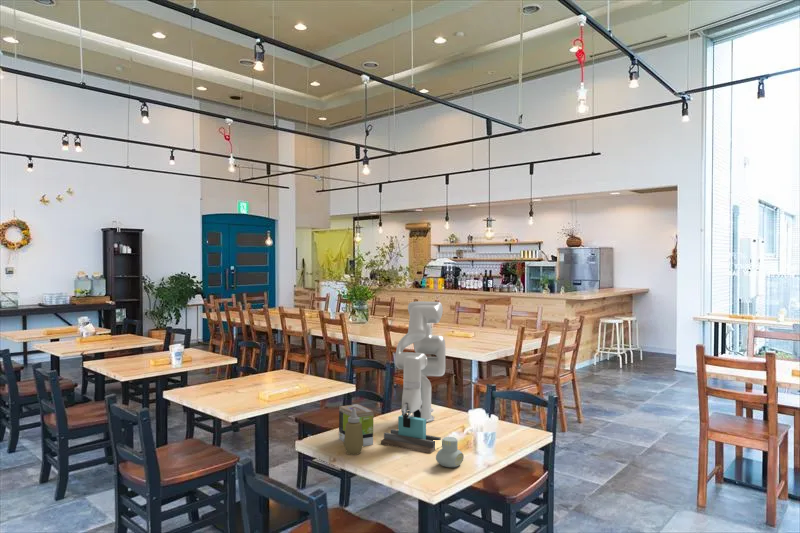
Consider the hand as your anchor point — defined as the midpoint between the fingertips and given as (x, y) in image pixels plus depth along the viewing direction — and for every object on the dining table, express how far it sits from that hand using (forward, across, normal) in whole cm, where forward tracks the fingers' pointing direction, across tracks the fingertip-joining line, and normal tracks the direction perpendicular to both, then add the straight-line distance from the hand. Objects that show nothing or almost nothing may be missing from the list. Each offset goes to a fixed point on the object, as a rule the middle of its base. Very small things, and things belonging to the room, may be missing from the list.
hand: (412, 424), depth 228 cm
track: (+9, +1, 0) cm, 9 cm away
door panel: (+7, 0, 0) cm, 7 cm away
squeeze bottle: (+9, +22, -16) cm, 28 cm away
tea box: (+9, +10, -23) cm, 26 cm away
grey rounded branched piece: (+8, +15, +24) cm, 30 cm away
